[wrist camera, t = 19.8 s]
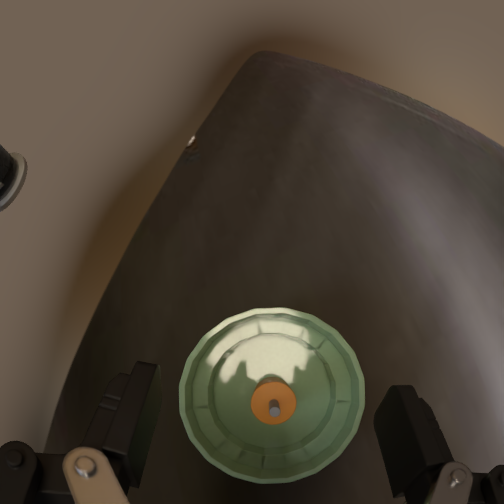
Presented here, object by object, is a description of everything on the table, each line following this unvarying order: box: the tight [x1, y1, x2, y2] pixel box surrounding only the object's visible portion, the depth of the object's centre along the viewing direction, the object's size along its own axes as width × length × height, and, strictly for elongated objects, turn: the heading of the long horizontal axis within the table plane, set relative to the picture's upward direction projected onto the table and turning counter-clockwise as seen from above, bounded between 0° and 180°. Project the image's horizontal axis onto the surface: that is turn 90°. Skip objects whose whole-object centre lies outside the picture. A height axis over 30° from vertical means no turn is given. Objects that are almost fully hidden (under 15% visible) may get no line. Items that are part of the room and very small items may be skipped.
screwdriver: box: [251, 377, 297, 425], centre depth 24 cm, size 3×3×11 cm
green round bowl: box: [179, 307, 365, 484], centre depth 27 cm, size 15×15×6 cm
